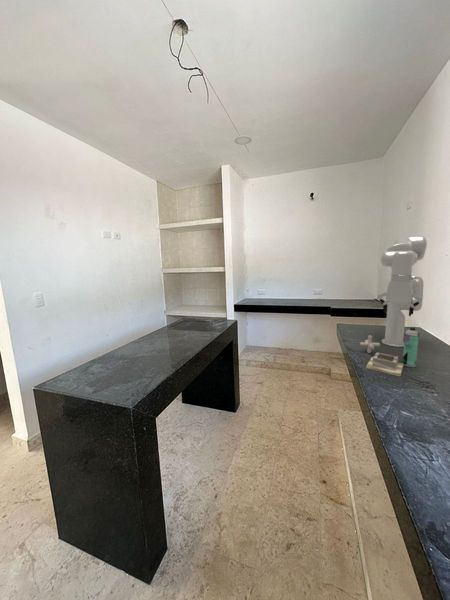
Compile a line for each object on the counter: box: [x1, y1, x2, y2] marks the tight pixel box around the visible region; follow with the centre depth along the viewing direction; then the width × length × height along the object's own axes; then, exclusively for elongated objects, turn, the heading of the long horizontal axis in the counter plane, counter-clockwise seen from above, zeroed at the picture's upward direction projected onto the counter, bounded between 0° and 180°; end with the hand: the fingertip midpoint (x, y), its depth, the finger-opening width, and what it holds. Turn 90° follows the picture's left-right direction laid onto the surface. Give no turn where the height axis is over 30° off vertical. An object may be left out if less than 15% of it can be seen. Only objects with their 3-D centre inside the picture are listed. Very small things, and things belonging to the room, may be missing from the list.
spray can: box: [401, 326, 420, 368], centre depth 122 cm, size 6×6×20 cm
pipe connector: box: [359, 334, 381, 354], centre depth 140 cm, size 10×10×10 cm
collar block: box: [365, 352, 405, 377], centre depth 122 cm, size 14×14×5 cm
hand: (397, 314), depth 116 cm, fingers open, 9 cm apart
